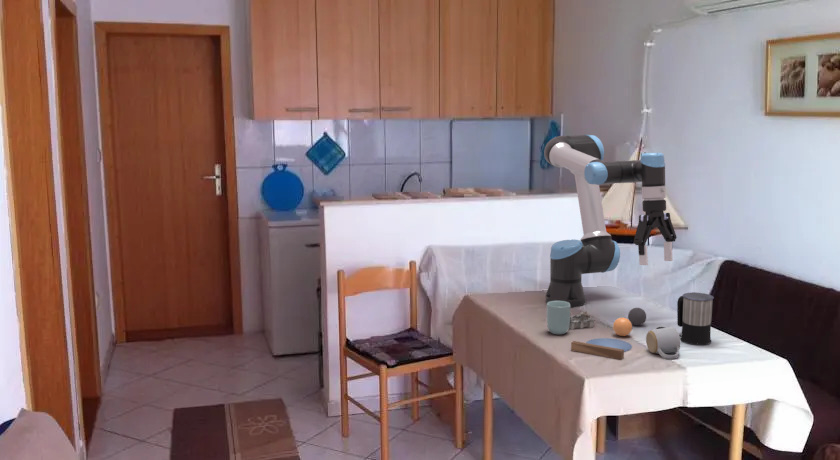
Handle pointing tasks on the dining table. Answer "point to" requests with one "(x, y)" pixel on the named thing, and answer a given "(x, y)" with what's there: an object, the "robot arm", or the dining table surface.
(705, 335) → the milk frother
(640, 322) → the dark gray ball
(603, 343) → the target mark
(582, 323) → the egg carton
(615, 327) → the terracotta ball
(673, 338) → the ceramic mug
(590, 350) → the wall
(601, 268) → the robot arm
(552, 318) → the cup
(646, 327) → the dining table surface
